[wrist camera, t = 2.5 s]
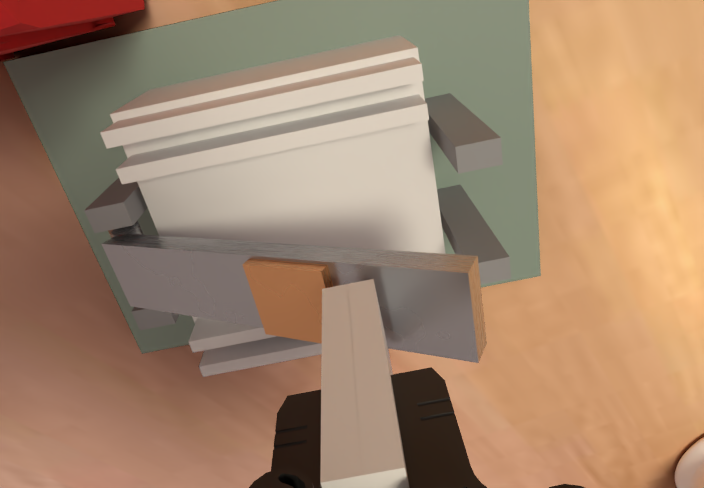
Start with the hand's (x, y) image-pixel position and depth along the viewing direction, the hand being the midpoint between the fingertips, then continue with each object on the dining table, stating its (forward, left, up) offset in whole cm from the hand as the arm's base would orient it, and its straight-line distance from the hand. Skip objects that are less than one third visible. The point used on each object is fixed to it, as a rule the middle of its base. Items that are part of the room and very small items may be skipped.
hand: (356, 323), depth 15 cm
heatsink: (0, -2, -14) cm, 14 cm away
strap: (0, -3, -4) cm, 5 cm away
